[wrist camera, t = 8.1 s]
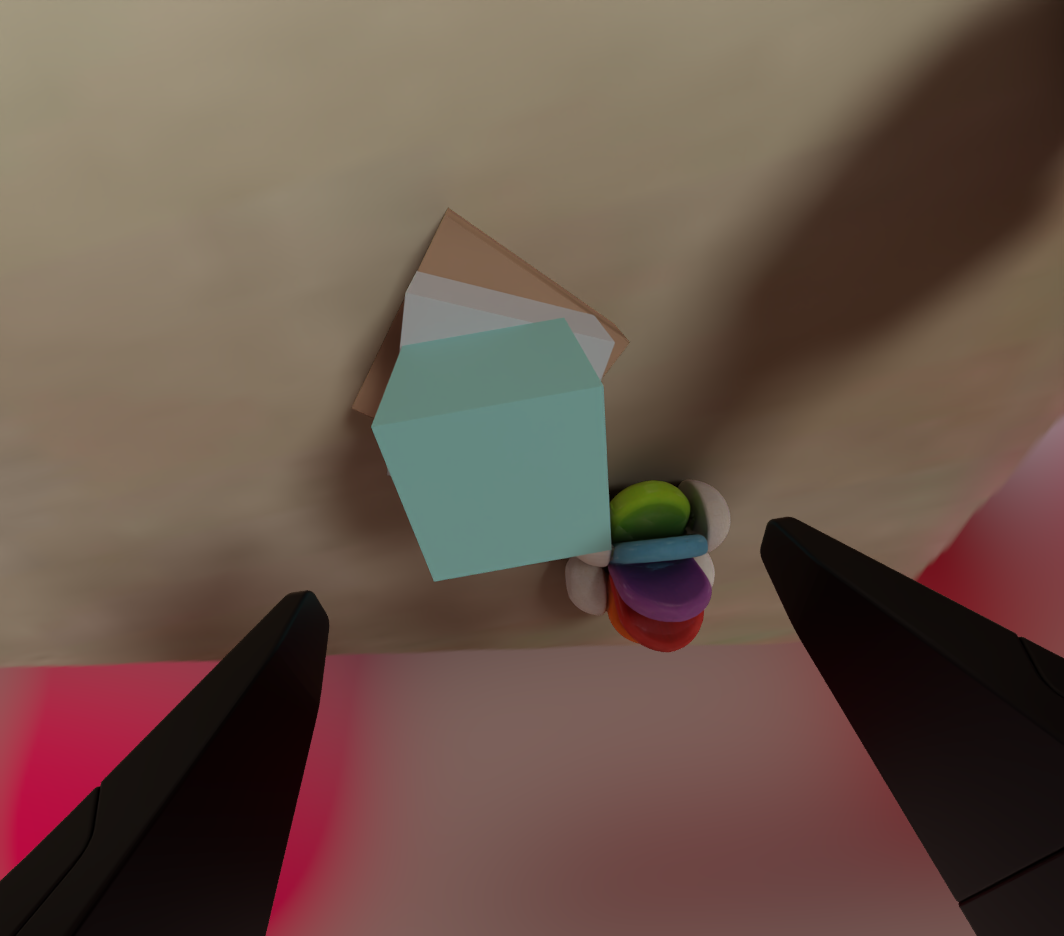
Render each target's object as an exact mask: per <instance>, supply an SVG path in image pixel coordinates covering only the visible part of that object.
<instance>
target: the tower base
mask: <svg viewBox="0 0 1064 936" xmlns="http://www.w3.org/2000/svg"><path fill="white" fill-rule="evenodd" d="M418 272H422V273H427V274H431V275H435V276H439V277H443V278H447V279H451V280H455V281H459V282H463V283H467V284H471V285H475V286H479V287H483V288H487V289H491V290H495V291H499V292H503V293H507V294H511V295H515V296H519V297H523V298H527V299H531V300H535V301H539V302H543V303H547V304H551V305H555V306H559V307H563V308H567V309H571V310H575V311H579V312H583V313H587V314H591V315H594V316H595V317H596V318H597V320H598V321H599V322H600V323H601V325H602V326H603V327H604V329H605V330H606V331H607V333H608V334H609V335H610V336H611V338H612V339H613V340H614V342H615V344H614V346H613V349H612V352H611V355H610V357H609V360H608V363H607V365H606V368H605V371H604V373H603V376H602V378H603V377H604V375H605V374H606V373H607V371H608V370H609V369H610V368H611V366H612V365H613V364H614V362H615V361H616V360H617V358H618V357H619V356H620V355H621V353H622V352H623V351H624V349H625V348H626V347H627V345H628V344H629V343H630V342H629V341H628V340H627V338H626V337H625V336H624V335H623V334H622V332H621V331H620V330H619V329H618V328H617V327H616V325H615V324H614V323H612V322H611V321H609V320H608V319H607V318H605V317H604V316H602V315H601V314H599V313H598V312H597V311H595V310H594V309H592V308H591V307H589V306H588V305H587V304H585V303H584V302H582V301H581V300H579V299H578V298H577V297H575V296H574V295H572V294H571V293H569V292H568V291H567V290H565V289H564V288H562V287H561V286H559V285H558V284H557V283H555V282H554V281H552V280H551V279H549V278H548V277H547V276H545V275H544V274H542V273H541V272H539V271H538V270H537V269H535V268H534V267H532V266H531V265H529V264H528V263H526V262H525V261H524V260H522V259H521V258H519V257H518V256H516V255H515V254H514V253H512V252H511V251H509V250H508V249H506V248H505V247H504V246H502V245H501V244H499V243H498V242H496V241H495V240H494V239H492V238H491V237H489V236H488V235H486V234H485V233H484V232H482V231H481V230H479V229H478V228H476V227H475V226H474V225H472V224H471V223H469V222H468V221H466V220H465V219H464V218H462V217H461V216H459V215H458V214H456V213H455V212H454V211H452V210H451V209H449V208H448V209H447V211H446V213H445V215H444V217H443V219H442V221H441V223H440V225H439V227H438V229H437V232H436V234H435V236H434V238H433V240H432V242H431V244H430V246H429V248H428V250H427V252H426V254H425V256H424V258H423V261H422V263H421V265H420V267H419V269H418ZM404 303H405V298H404V300H403V302H402V304H401V306H400V308H399V310H398V312H397V314H396V317H395V319H394V321H393V323H392V325H391V327H390V329H389V331H388V333H387V335H386V337H385V339H384V341H383V344H382V346H381V348H380V350H379V352H378V354H377V356H376V358H375V360H374V362H373V364H372V366H371V368H370V370H369V373H368V375H367V377H366V379H365V381H364V383H363V385H362V387H361V389H360V391H359V393H358V395H357V397H356V400H355V402H354V404H353V406H352V409H354V410H357V411H359V412H361V413H363V414H365V415H368V416H370V417H372V418H375V415H376V413H377V410H378V408H379V405H380V403H381V400H382V397H383V395H384V392H385V390H386V387H387V384H388V382H389V379H390V377H391V374H392V371H393V369H394V366H395V364H396V361H397V358H398V356H399V352H400V342H401V332H402V322H403V313H404Z"/></svg>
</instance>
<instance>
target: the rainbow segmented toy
mask: <svg viewBox="0 0 1064 936" xmlns="http://www.w3.org/2000/svg"><path fill="white" fill-rule="evenodd" d="M609 508H610V528H611V548H612V550H608V551H602V552H597V553H591V554H586V555H580V556H574V557H570V558H569V560H568V562H567V564H566V567H565V578H566V586H567V592H568V595H569V598H570V600H571V601H572V602H573V603H574V605H576V606H577V607H578V608H579V609H580V610H582V611H584V612H586V613H589V614H592V615H603V614H604V613H605V611H607V612H608V616H609V619H610V621H611V623H612V625H613V626H614V628H615V629H616V630H617V631H618V632H619V633H620V634H621V635H622V636H623V637H625V638H626V639H628V640H630V641H633V642H636V643H639V644H641V645H643V646H645V647H647V648H649V649H652V650H655V651H661V652H672V651H676V650H678V649H681V648H683V647H685V646H686V645H687V644H689V643H690V642H691V641H692V640H693V639H694V638H695V636H696V635H697V633H698V632H699V630H700V627H701V624H702V621H703V616H704V609H705V608H706V606H707V605H708V603H709V601H710V598H711V594H712V589H711V588H712V585H713V583H714V575H715V572H714V566H713V562H712V560H711V558H710V556H709V554H708V552H710V551H712V550H714V549H715V548H716V547H718V546H719V545H720V544H721V543H722V542H723V540H724V539H725V537H726V535H727V533H728V531H729V527H730V511H729V508H728V505H727V503H726V501H725V499H724V498H723V496H722V495H721V494H720V493H719V492H718V491H717V490H716V489H715V488H713V487H712V486H710V485H709V484H707V483H704V482H701V481H698V480H691V479H688V480H684V481H682V482H681V483H680V485H679V486H678V488H677V487H675V486H673V485H671V484H669V483H667V482H663V481H657V480H650V481H644V482H640V483H636V484H633V485H631V486H629V487H627V488H625V489H624V490H622V491H621V492H620V493H619V494H617V495H616V496H615V497H614V498H613V499H612V501H611V502H609Z"/></svg>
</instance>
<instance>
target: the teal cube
mask: <svg viewBox="0 0 1064 936" xmlns="http://www.w3.org/2000/svg"><path fill="white" fill-rule="evenodd" d="M371 428H372V430H373V433H374V435H375V438H376V440H377V443H378V445H379V448H380V450H381V453H382V455H383V457H384V460H385V462H386V465H387V467H388V470H389V472H390V475H391V477H392V480H393V482H394V484H395V487H396V489H397V492H398V494H399V497H400V499H401V502H402V504H403V506H404V509H405V511H406V514H407V516H408V519H409V521H410V524H411V526H412V529H413V531H414V533H415V536H416V538H417V541H418V543H419V546H420V548H421V551H422V553H423V555H424V558H425V560H426V563H427V565H428V568H429V570H430V573H431V575H432V578H433V580H434V582H435V581H441V580H446V579H452V578H457V577H463V576H469V575H474V574H480V573H485V572H491V571H496V570H502V569H508V568H513V567H519V566H524V565H530V564H535V563H541V562H547V561H552V560H558V559H563V558H569V557H574V556H580V555H586V554H591V553H597V552H602V551H608V550H612V548H611V528H610V508H609V488H608V468H607V448H606V428H605V408H604V388H603V384H602V383H601V381H600V379H599V377H598V376H597V374H596V372H595V370H594V369H593V367H592V365H591V363H590V362H589V360H588V358H587V356H586V355H585V353H584V351H583V349H582V348H581V346H580V344H579V342H578V341H577V339H576V337H575V335H574V334H573V332H572V330H571V328H570V327H569V325H568V323H567V321H566V320H565V318H558V319H552V320H547V321H541V322H535V323H530V324H524V325H518V326H513V327H507V328H501V329H495V330H490V331H484V332H478V333H473V334H467V335H461V336H456V337H450V338H444V339H439V340H433V341H427V342H421V343H416V344H410V345H404V346H402V348H401V351H400V353H399V356H398V358H397V361H396V364H395V366H394V369H393V371H392V374H391V377H390V379H389V382H388V384H387V387H386V390H385V392H384V395H383V397H382V400H381V403H380V405H379V408H378V410H377V413H376V415H375V418H374V421H373V423H372V426H371Z"/></svg>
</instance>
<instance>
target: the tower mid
mask: <svg viewBox="0 0 1064 936" xmlns="http://www.w3.org/2000/svg"><path fill="white" fill-rule="evenodd" d="M558 318H565V320H566V321H567V323H568V325H569V327H570V328H571V330H572V332H573V334H574V335H575V337H576V339H577V341H578V342H579V344H580V346H581V348H582V349H583V351H584V353H585V355H586V356H587V358H588V360H589V362H590V363H591V365H592V367H593V369H594V370H595V372H596V374H597V376H598V377H599V379H600V381H601V379H602V376H603V373H604V371H605V368H606V365H607V363H608V360H609V357H610V355H611V352H612V349H613V346H614V344H615V342H614V340H613V339H612V338H611V336H610V335H609V334H608V333H607V331H606V330H605V329H604V327H603V326H602V325H601V323H600V322H599V321H598V320H597V318H596V317H595V316H594V315H591V314H587V313H583V312H579V311H575V310H571V309H567V308H563V307H559V306H555V305H551V304H547V303H543V302H539V301H535V300H531V299H527V298H523V297H519V296H515V295H511V294H507V293H503V292H499V291H495V290H491V289H487V288H483V287H479V286H475V285H471V284H467V283H463V282H459V281H455V280H451V279H447V278H443V277H439V276H435V275H431V274H427V273H422V272H418V271H416V273H415V275H414V277H413V279H412V281H411V283H410V285H409V287H408V289H407V291H406V293H405V303H404V313H403V322H402V332H401V342H400V351H401V348H402V346H404V345H410V344H416V343H421V342H427V341H433V340H439V339H444V338H450V337H456V336H461V335H467V334H473V333H478V332H484V331H490V330H495V329H501V328H507V327H513V326H518V325H524V324H530V323H535V322H541V321H547V320H552V319H558ZM399 353H400V352H399ZM387 475H389V476H391V475H390V472H389V470H388V469H387Z"/></svg>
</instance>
